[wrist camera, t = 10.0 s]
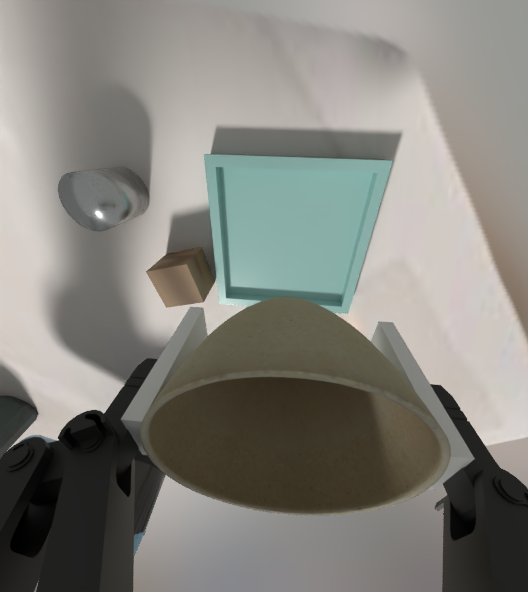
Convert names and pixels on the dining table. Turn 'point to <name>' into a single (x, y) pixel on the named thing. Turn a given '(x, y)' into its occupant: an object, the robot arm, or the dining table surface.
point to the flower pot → (294, 417)
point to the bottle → (14, 420)
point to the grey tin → (103, 197)
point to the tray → (292, 225)
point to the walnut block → (182, 277)
